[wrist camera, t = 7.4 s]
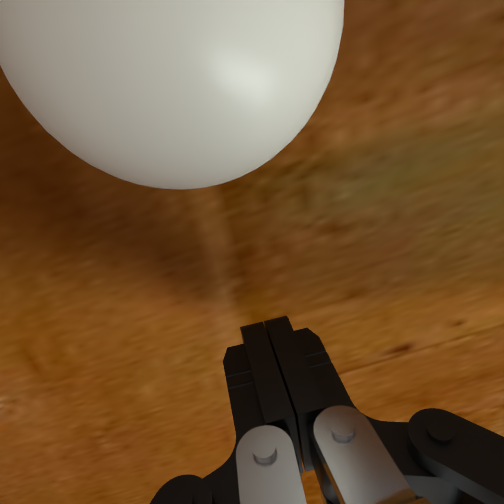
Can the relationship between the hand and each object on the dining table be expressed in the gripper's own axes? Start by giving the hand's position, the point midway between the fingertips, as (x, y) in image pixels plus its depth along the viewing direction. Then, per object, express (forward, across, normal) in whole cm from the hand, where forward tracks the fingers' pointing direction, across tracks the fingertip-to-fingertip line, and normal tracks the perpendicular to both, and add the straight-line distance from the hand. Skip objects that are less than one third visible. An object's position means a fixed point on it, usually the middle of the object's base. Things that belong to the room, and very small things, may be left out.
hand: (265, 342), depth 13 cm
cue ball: (-1, +1, -9) cm, 9 cm away
